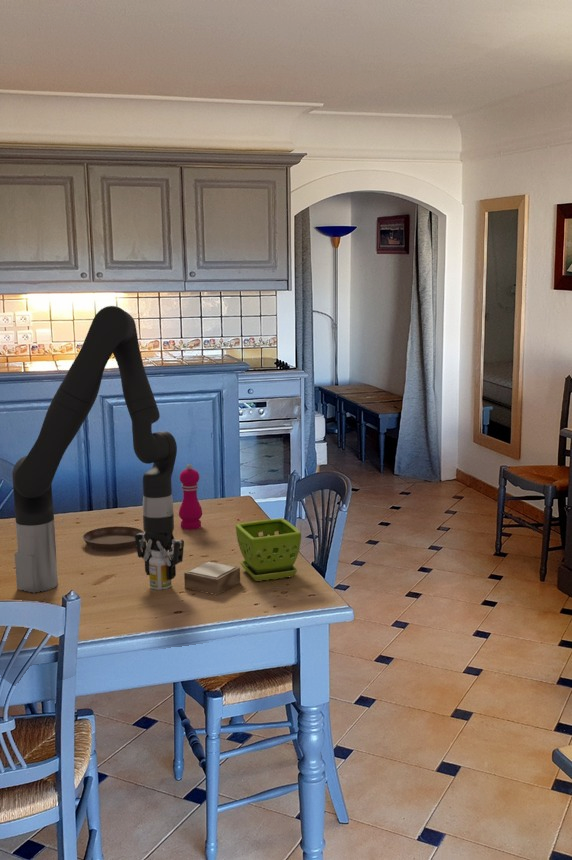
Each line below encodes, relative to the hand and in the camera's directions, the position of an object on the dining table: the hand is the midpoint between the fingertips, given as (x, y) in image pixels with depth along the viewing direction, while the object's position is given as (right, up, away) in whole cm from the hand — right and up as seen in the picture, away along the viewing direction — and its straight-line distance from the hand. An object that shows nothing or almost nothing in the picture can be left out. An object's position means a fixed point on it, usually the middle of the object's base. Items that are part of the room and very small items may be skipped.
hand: (160, 576), depth 217 cm
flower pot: (+27, -1, +9) cm, 28 cm away
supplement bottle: (0, -3, 0) cm, 3 cm away
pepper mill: (+2, +6, +51) cm, 51 cm away
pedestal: (+13, -2, +1) cm, 13 cm away
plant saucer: (-19, +3, +35) cm, 40 cm away
